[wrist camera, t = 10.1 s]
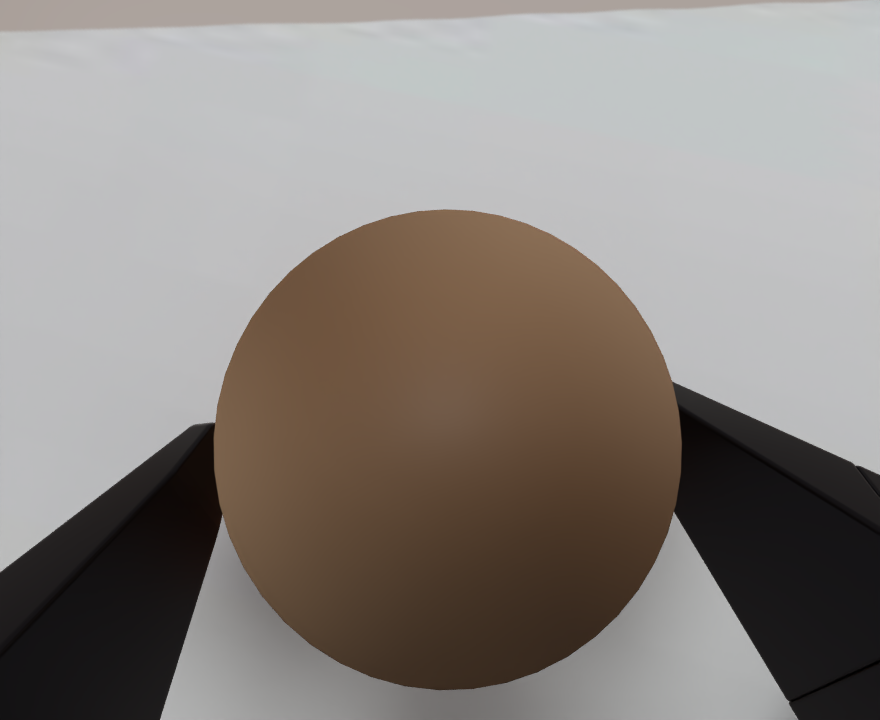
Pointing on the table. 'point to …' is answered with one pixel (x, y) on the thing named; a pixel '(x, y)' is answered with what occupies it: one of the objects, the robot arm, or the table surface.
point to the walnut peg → (447, 449)
